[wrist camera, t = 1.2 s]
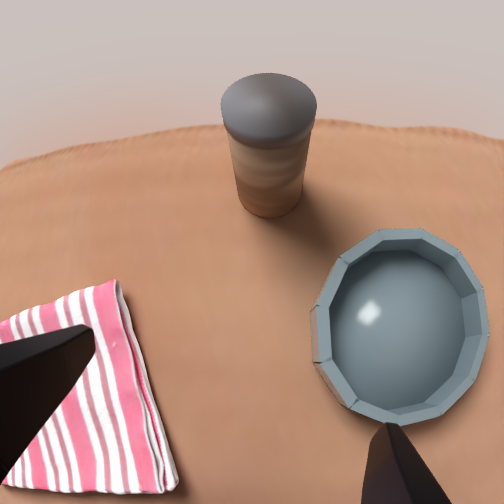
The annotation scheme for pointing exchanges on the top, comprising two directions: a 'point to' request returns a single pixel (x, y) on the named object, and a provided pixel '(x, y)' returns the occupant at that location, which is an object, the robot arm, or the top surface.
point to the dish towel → (96, 406)
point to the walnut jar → (269, 140)
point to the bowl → (399, 326)
